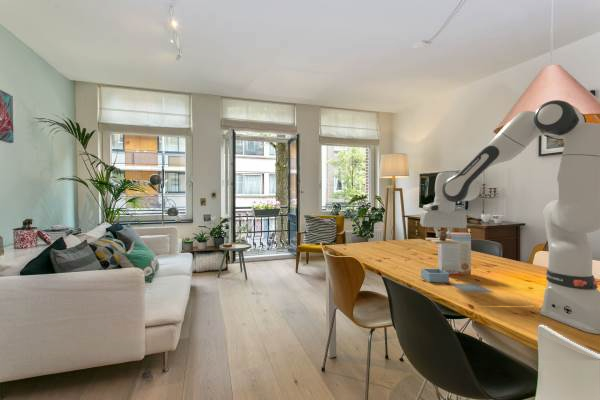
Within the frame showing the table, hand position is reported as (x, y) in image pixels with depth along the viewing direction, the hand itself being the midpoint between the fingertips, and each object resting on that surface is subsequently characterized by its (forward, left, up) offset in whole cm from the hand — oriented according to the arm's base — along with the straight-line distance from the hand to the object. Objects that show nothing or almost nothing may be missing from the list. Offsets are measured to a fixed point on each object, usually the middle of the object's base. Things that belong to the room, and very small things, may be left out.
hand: (442, 237), depth 140 cm
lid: (0, 0, -2) cm, 2 cm away
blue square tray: (+2, +2, -21) cm, 21 cm away
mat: (-10, -8, -21) cm, 24 cm away
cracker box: (+13, -13, -21) cm, 28 cm away
